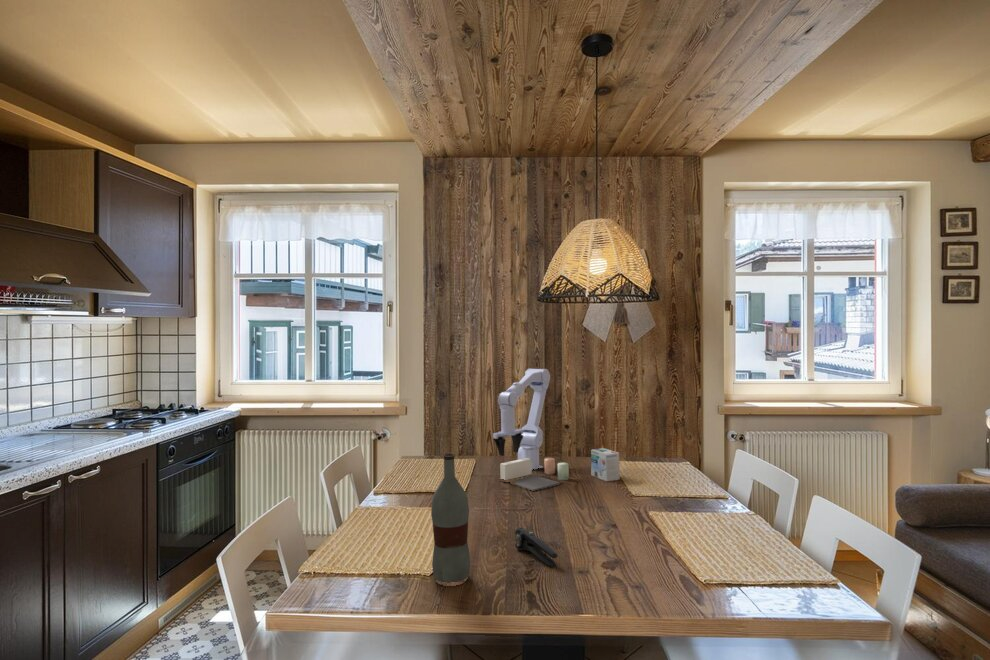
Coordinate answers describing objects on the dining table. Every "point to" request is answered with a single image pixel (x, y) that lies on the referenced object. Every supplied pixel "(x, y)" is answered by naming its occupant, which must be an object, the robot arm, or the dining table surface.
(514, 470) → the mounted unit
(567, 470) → the sage part
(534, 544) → the can opener
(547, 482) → the pad
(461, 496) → the bottle
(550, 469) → the terracotta part
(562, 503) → the dining table surface
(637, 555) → the dining table surface
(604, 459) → the light bulb box
